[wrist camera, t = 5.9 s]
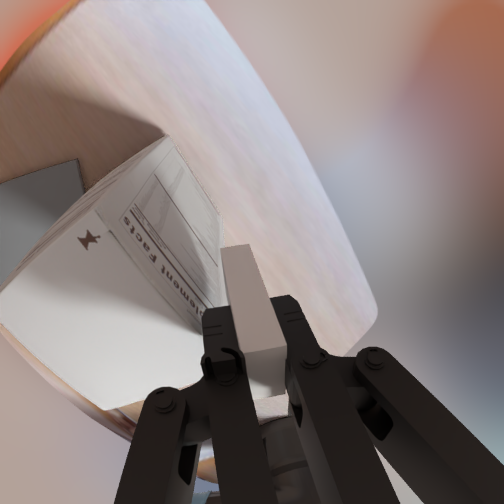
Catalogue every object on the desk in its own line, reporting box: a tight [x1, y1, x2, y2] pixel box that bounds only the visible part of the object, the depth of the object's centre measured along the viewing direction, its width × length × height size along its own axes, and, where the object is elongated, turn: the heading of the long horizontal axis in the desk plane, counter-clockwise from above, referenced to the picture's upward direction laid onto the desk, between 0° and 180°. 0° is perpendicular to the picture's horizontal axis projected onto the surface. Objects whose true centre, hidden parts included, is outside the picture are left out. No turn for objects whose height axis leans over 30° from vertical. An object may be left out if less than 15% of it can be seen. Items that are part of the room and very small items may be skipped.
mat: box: [0, 159, 85, 286], centre depth 25 cm, size 13×17×1 cm
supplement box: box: [0, 135, 228, 411], centre depth 19 cm, size 10×9×17 cm
